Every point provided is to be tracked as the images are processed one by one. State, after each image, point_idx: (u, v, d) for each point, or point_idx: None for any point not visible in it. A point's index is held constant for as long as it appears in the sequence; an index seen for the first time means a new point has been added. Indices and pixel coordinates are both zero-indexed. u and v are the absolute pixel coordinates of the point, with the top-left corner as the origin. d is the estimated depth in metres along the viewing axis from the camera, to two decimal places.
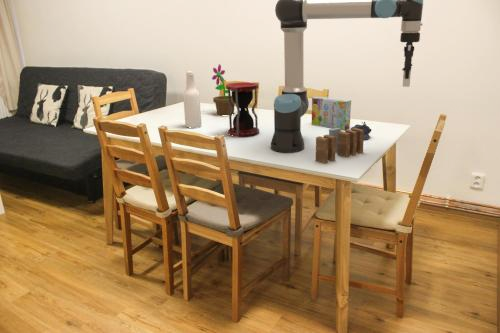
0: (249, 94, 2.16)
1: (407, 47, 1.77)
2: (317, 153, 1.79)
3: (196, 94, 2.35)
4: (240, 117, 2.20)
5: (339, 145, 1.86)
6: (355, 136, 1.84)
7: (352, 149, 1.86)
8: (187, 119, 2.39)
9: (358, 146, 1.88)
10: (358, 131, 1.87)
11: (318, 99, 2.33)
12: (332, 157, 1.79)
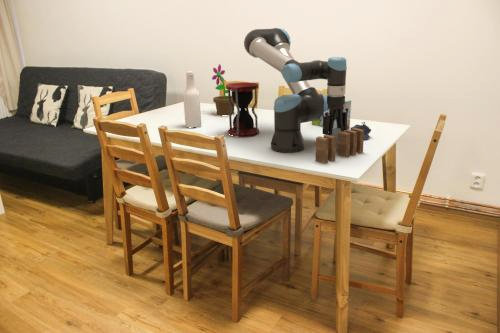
0: (249, 94, 2.16)
1: (323, 114, 1.84)
2: (317, 153, 1.79)
3: (196, 94, 2.35)
4: (240, 117, 2.20)
5: (339, 145, 1.86)
6: (355, 136, 1.84)
7: (352, 149, 1.86)
8: (187, 119, 2.39)
9: (358, 146, 1.88)
10: (358, 131, 1.87)
11: None
12: (332, 157, 1.79)
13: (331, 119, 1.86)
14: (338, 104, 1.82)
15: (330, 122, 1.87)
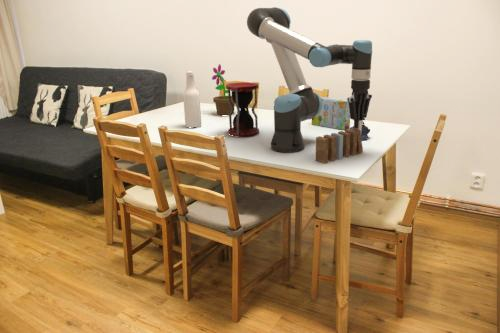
0: (249, 94, 2.16)
1: (348, 100, 1.81)
2: (317, 153, 1.79)
3: (196, 94, 2.35)
4: (240, 117, 2.20)
5: None
6: (355, 136, 1.84)
7: (352, 149, 1.86)
8: (187, 119, 2.39)
9: (357, 146, 1.88)
10: None
11: None
12: (332, 157, 1.79)
13: (357, 104, 1.83)
14: (363, 88, 1.79)
15: (356, 107, 1.84)
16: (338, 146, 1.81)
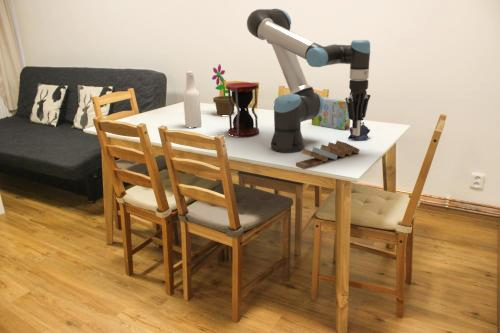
0: (249, 94, 2.16)
1: (346, 100, 1.80)
2: None
3: (196, 94, 2.35)
4: (240, 117, 2.20)
5: None
6: (339, 148, 1.80)
7: (346, 153, 1.84)
8: (187, 119, 2.39)
9: (352, 151, 1.87)
10: None
11: None
12: (324, 159, 1.77)
13: (355, 104, 1.82)
14: (361, 88, 1.78)
15: (355, 107, 1.83)
16: None
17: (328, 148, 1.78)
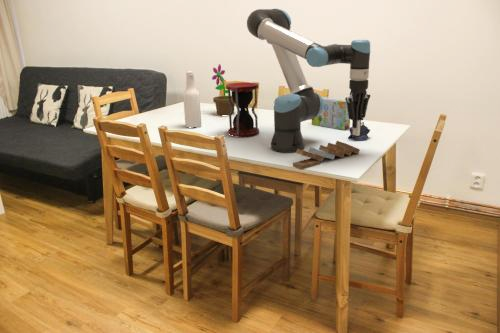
0: (249, 94, 2.16)
1: (346, 100, 1.80)
2: None
3: (196, 94, 2.35)
4: (240, 117, 2.20)
5: None
6: (339, 148, 1.80)
7: (345, 153, 1.84)
8: (187, 119, 2.39)
9: (352, 151, 1.87)
10: None
11: None
12: (319, 159, 1.77)
13: (355, 104, 1.82)
14: (361, 88, 1.78)
15: (355, 107, 1.83)
16: (323, 156, 1.79)
17: (326, 149, 1.78)
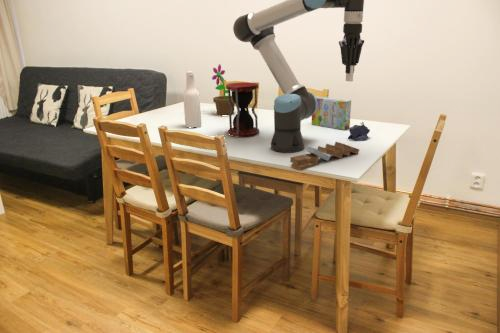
0: (249, 94, 2.16)
1: (340, 44, 1.81)
2: None
3: (196, 94, 2.35)
4: (240, 117, 2.20)
5: None
6: (337, 149, 1.80)
7: (344, 154, 1.84)
8: (187, 119, 2.39)
9: None
10: None
11: (318, 99, 2.33)
12: (315, 160, 1.75)
13: (349, 48, 1.83)
14: (355, 31, 1.78)
15: (348, 52, 1.83)
16: (319, 156, 1.77)
17: (325, 150, 1.77)
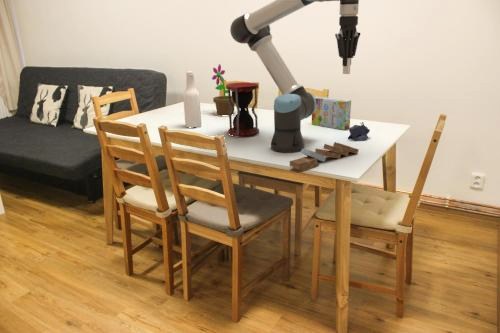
0: (249, 94, 2.16)
1: (336, 36, 1.81)
2: None
3: (196, 94, 2.35)
4: (240, 117, 2.20)
5: None
6: (335, 149, 1.80)
7: None
8: (187, 119, 2.39)
9: None
10: (339, 148, 1.84)
11: (318, 99, 2.33)
12: (314, 163, 1.73)
13: (345, 41, 1.83)
14: (351, 23, 1.79)
15: (345, 44, 1.84)
16: None
17: (322, 152, 1.77)
